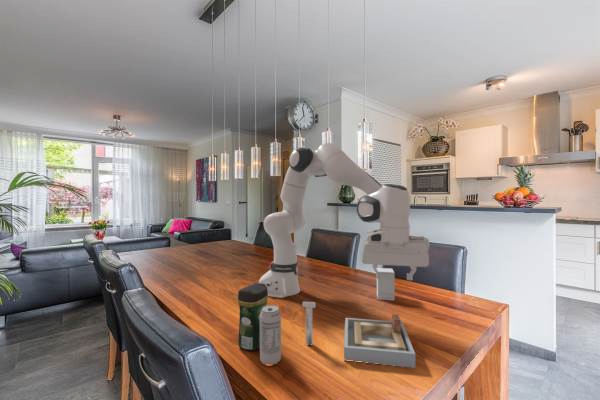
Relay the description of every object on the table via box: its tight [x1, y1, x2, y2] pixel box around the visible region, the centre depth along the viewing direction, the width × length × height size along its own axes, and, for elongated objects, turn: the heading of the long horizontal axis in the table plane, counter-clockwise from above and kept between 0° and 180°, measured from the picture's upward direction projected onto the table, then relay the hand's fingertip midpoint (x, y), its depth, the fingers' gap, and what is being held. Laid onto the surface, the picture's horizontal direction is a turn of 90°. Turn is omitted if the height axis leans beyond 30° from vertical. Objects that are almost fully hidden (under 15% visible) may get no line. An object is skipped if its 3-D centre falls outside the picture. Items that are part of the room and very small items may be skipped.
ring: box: [354, 313, 406, 351], centre depth 85 cm, size 14×14×7 cm
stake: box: [302, 301, 317, 345], centre depth 86 cm, size 4×2×13 cm, turn 80°
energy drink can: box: [259, 304, 282, 364], centre depth 78 cm, size 6×6×15 cm
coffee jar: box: [237, 281, 269, 351], centre depth 87 cm, size 10×8×19 cm
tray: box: [343, 317, 416, 369], centre depth 85 cm, size 19×19×4 cm
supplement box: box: [376, 267, 396, 302], centre depth 126 cm, size 7×7×13 cm
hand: (393, 278), depth 87 cm, fingers open, 8 cm apart
